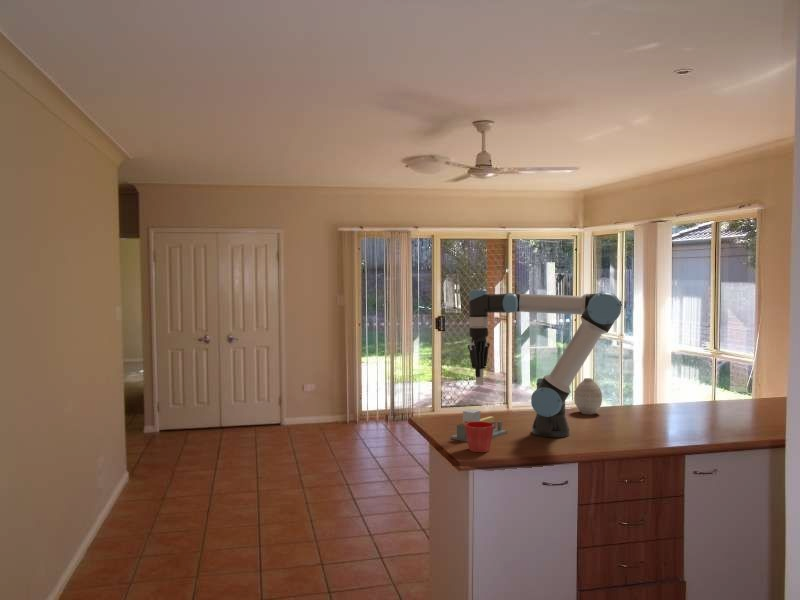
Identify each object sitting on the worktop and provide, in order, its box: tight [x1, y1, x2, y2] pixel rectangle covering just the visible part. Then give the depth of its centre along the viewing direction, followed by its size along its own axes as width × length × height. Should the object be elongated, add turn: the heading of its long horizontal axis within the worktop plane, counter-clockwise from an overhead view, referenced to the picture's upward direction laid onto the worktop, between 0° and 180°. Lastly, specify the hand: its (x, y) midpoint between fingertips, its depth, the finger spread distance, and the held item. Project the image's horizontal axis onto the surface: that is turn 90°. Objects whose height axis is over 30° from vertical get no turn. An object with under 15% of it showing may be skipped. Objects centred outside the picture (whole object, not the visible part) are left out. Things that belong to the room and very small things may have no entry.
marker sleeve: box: [462, 408, 481, 423], centre depth 257 cm, size 5×5×8 cm
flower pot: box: [465, 421, 494, 453], centre depth 238 cm, size 11×11×10 cm
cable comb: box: [450, 415, 508, 443], centre depth 260 cm, size 12×23×7 cm, turn 139°
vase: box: [573, 377, 603, 416], centre depth 305 cm, size 13×13×17 cm
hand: (479, 384), depth 260 cm, fingers closed
